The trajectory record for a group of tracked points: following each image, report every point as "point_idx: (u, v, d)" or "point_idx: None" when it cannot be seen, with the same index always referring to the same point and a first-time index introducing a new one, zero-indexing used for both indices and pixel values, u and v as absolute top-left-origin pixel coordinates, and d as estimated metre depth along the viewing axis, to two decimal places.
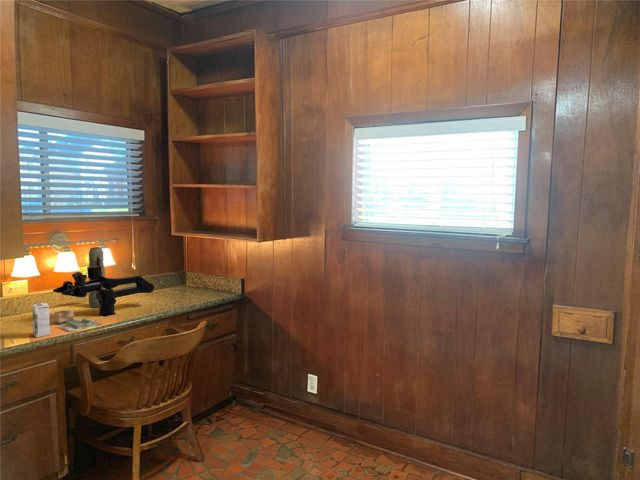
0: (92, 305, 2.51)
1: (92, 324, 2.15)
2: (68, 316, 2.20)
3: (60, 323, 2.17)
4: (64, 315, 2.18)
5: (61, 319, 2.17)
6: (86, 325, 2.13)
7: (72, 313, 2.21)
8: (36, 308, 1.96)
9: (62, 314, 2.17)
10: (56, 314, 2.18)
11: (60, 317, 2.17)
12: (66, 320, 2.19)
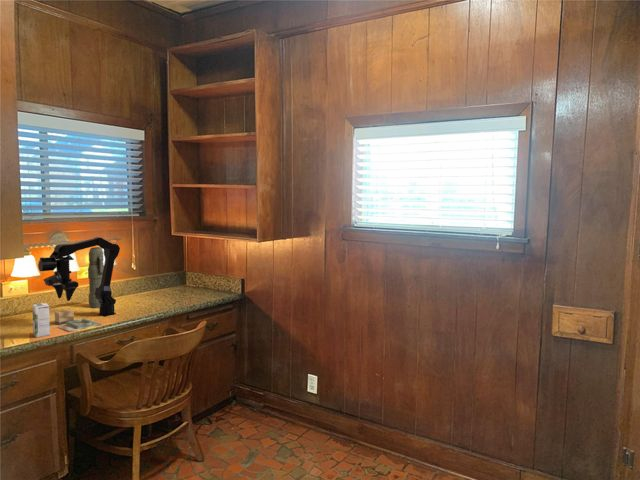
0: (92, 305, 2.51)
1: (92, 324, 2.15)
2: (68, 316, 2.20)
3: (60, 323, 2.17)
4: (64, 315, 2.18)
5: (61, 319, 2.17)
6: (86, 325, 2.13)
7: (72, 313, 2.21)
8: (36, 308, 1.96)
9: (62, 314, 2.17)
10: (56, 314, 2.18)
11: (60, 317, 2.17)
12: (66, 320, 2.19)
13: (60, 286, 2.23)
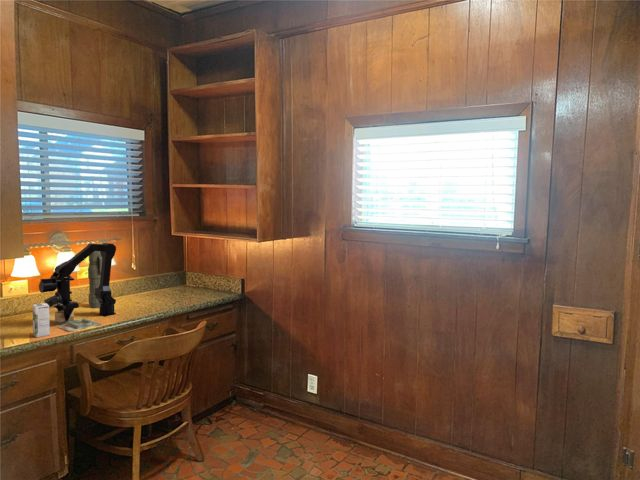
0: (92, 305, 2.51)
1: (92, 324, 2.15)
2: None
3: (60, 323, 2.17)
4: None
5: (61, 318, 2.17)
6: (86, 325, 2.13)
7: (72, 313, 2.21)
8: (36, 308, 1.96)
9: (62, 314, 2.17)
10: (56, 314, 2.18)
11: (60, 317, 2.17)
12: None
13: (63, 307, 2.22)
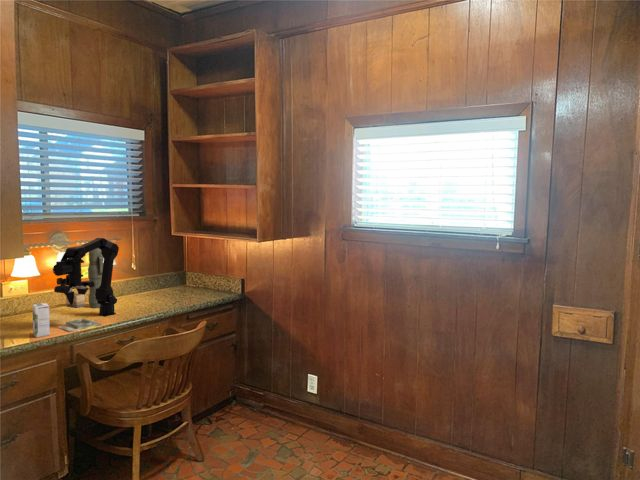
0: (92, 305, 2.51)
1: (92, 324, 2.15)
2: None
3: (67, 305, 2.15)
4: None
5: (67, 301, 2.14)
6: (86, 325, 2.13)
7: (75, 298, 2.12)
8: (36, 308, 1.96)
9: None
10: None
11: (67, 299, 2.15)
12: None
13: (81, 290, 2.18)
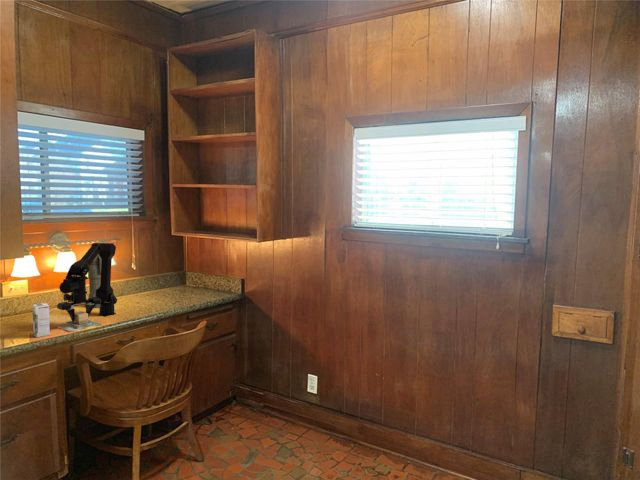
0: None
1: (92, 324, 2.15)
2: (76, 319, 2.13)
3: None
4: None
5: None
6: (86, 325, 2.13)
7: (78, 317, 2.12)
8: (36, 308, 1.96)
9: None
10: None
11: None
12: (75, 322, 2.14)
13: (88, 307, 2.17)
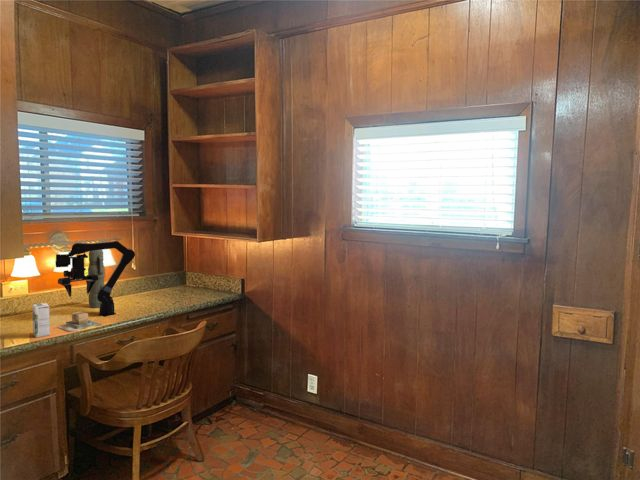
0: (92, 305, 2.51)
1: (92, 324, 2.15)
2: (76, 319, 2.13)
3: None
4: (74, 316, 2.14)
5: (72, 319, 2.15)
6: (86, 325, 2.13)
7: (78, 317, 2.12)
8: (36, 308, 1.96)
9: (73, 315, 2.14)
10: None
11: (72, 317, 2.15)
12: (75, 322, 2.14)
13: (88, 283, 2.34)
